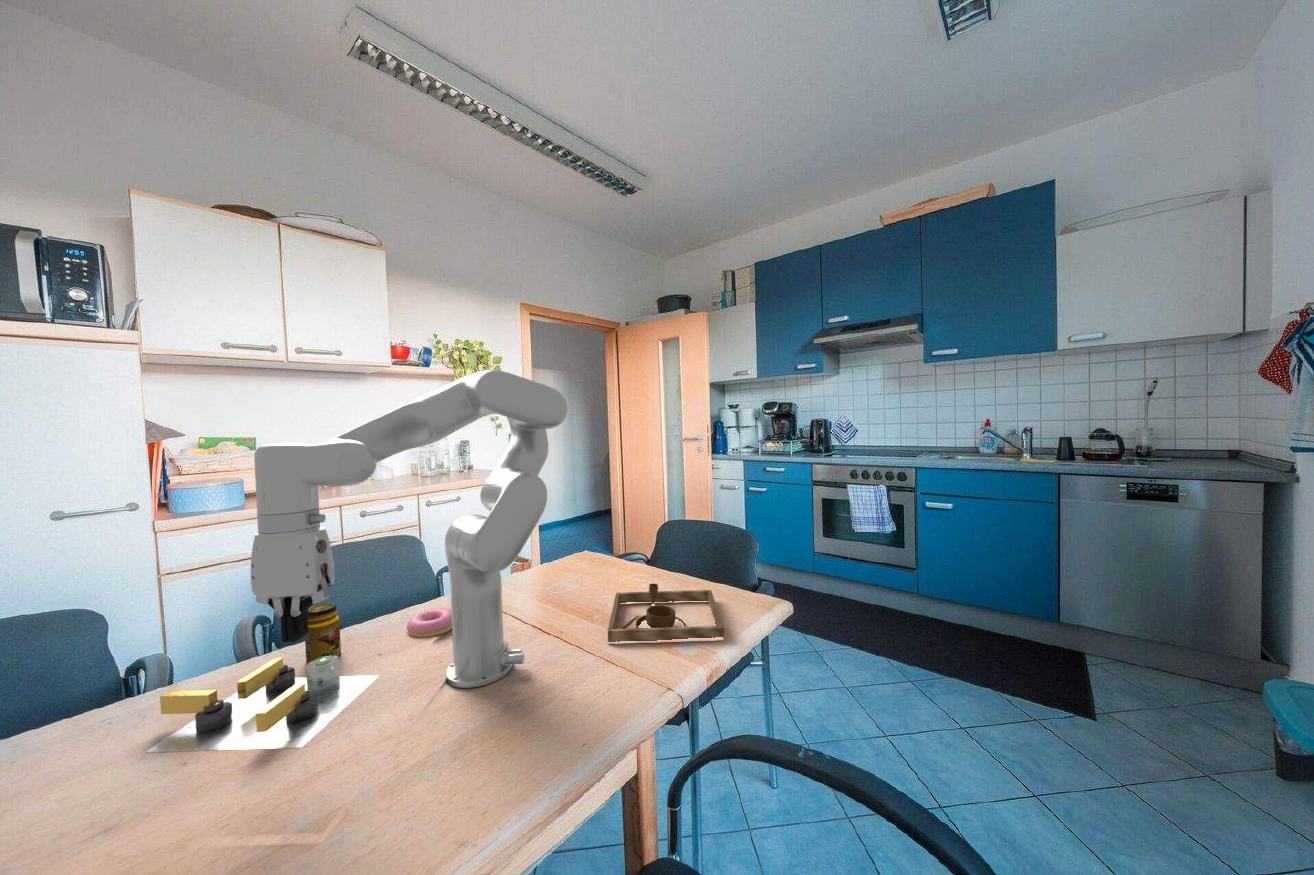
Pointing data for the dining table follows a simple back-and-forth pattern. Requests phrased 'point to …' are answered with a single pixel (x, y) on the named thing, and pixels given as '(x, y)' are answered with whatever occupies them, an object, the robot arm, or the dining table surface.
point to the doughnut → (430, 623)
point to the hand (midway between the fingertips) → (295, 638)
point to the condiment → (322, 632)
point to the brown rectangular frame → (666, 632)
